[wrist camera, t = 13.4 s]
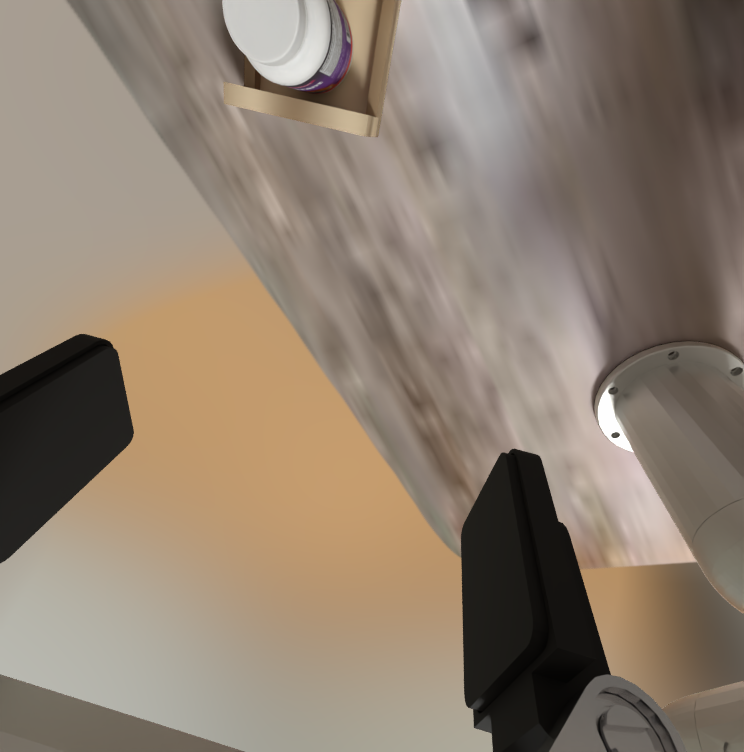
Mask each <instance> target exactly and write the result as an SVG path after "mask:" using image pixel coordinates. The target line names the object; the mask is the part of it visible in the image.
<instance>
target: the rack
mask: <svg viewBox="0 0 744 752" xmlns="http://www.w3.org/2000/svg"><path fill="white" fill-rule="evenodd" d="M335 1H336V2H337V4H338V5H339V6H340V8H341V9H342V10H343V12H344V14H345V15H346V17H347V19H348V22H349V24H350V28H351V31H352V36H353V58H352V63H351V66H350V69H349V71H348V74H347V75H346V77H345V79H344V80H343V82H342V83H341V84H340V85H339V86H338V87H337V88H335V89H334V90H332V91H330V92H328V93H324V94H311V93H307V92H303V91H300V90H296V89H293V88H289V87H286V86H282V85H279V84H276V83H273V82H271V81H270V80H268V79H266V78H265V77H263V76H262V75H261V74H260V73H259V72H258V71H257V70H256V69H255V68H254V67H253V66H252V64H251V63H250V61H249V60H248V58H247V57H246V55H245V54H244V86H239V85H235V84H230V83H226V82H224V104H228V105H232V106H236V107H241V108H245V109H249V110H254V111H258V112H262V113H267V114H271V115H275V116H279V117H284V118H288V119H292V120H297V121H301V122H305V123H310V124H314V125H318V126H322V127H327V128H331V129H335V130H340V131H344V132H348V133H353V134H357V135H361V136H366V137H378V134H379V128H380V122H381V116H382V110H383V104H384V99H385V93H386V87H387V81H388V75H389V69H390V63H391V57H392V52H393V46H394V40H395V34H396V28H397V22H398V16H399V10H400V4H401V0H335Z"/></svg>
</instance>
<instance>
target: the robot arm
mask: <svg viewBox="0 0 744 752" xmlns="http://www.w3.org/2000/svg"><path fill="white" fill-rule="evenodd" d="M594 411H595V417H596V420H597V423H598V425H599V427H600V429H601V430H602V432H603V434H604V435H605V436H606V437H607V438H608V439H609V440H610V441H611V442H613V443H614V444H615V445H617V446H619V447H621V448H623V449H625V450H627V451H631V452H634V454H635V456H636V457H637V459H638V461H639V463H640V464H641V466H642V468H643V469H644V471H645V473H646V475H647V476H648V478H649V480H650V482H651V483H652V485H653V487H654V488H655V490H656V492H657V494H658V495H659V497H660V499H661V501H662V502H663V504H664V506H665V508H666V509H667V511H668V513H669V514H670V516H671V518H672V520H673V521H674V523H675V525H676V527H677V528H678V530H679V532H680V533H681V535H682V537H683V539H684V540H685V542H686V544H687V546H688V547H689V549H690V551H691V552H692V554H693V556H694V558H695V559H696V561H697V562H698V564H699V566H700V568H701V569H702V571H703V573H704V574H705V576H706V577H707V579H708V580H709V582H710V583H711V584H712V586H713V587H714V588H715V589H716V590H717V592H718V593H719V594H720V595H721V596H722V597H723V598H724V599H725V600H726V601H728V602H729V603H730V604H731V605H732V606H733V607H735V608H736V609H737V610H739V611H740V612H742V613H743V614H744V363H743V362H742V361H741V360H740V359H739V358H738V357H736V356H735V355H734V354H732V353H731V352H729V351H727V350H725V349H723V348H721V347H719V346H716V345H712V344H708V343H704V342H692V341H685V342H673V343H668V344H663V345H659V346H655V347H653V348H650V349H647V350H644V351H642V352H640V353H638V354H636V355H634V356H632V357H630V358H629V359H627V360H626V361H624V362H623V363H622V364H620V365H619V366H617V367H616V368H615V369H614V370H613V371H612V372H611V373H610V374H609V375H608V376H607V378H606V379H605V380H604V382H603V383H602V385H601V386H600V388H599V390H598V393H597V395H596V399H595V404H594ZM133 434H134V431H133V426H132V420H131V416H130V411H129V406H128V401H127V396H126V391H125V386H124V381H123V376H122V371H121V366H120V361H119V356H118V353H117V351H116V350H115V349H114V348H113V345H112V344H111V343H110V342H109V341H107V340H105V339H101V338H97V337H94V336H90V335H86V334H79V335H76V336H74V337H72V338H70V339H69V340H66V341H64V342H63V343H61V344H59V345H57V346H55V347H53V348H51V349H49V350H47V351H45V352H43V353H41V354H40V355H38V356H36V357H34V358H32V359H30V360H28V361H26V362H24V363H22V364H20V365H18V366H16V367H15V368H13V369H11V370H9V371H7V372H5V373H3V374H1V375H0V563H2V562H3V561H5V560H6V559H8V558H9V557H10V556H11V555H12V554H13V553H15V552H16V551H17V550H18V549H19V548H20V547H21V546H22V545H23V544H24V543H25V542H26V541H27V540H28V539H29V538H30V537H31V536H32V535H34V534H35V532H37V531H38V530H39V529H40V528H41V527H42V526H43V525H44V524H45V523H46V522H47V521H48V520H49V519H51V518H52V517H53V516H54V515H55V514H56V513H57V512H58V511H59V510H60V509H61V508H62V507H63V506H64V505H65V504H66V503H68V501H70V500H71V499H72V498H73V497H74V496H75V495H76V494H77V493H78V492H79V491H80V490H81V489H82V488H83V487H84V486H86V485H87V484H88V483H89V482H90V481H91V480H92V479H93V478H94V477H95V476H96V475H97V474H98V473H99V472H100V471H101V470H103V469H104V468H105V467H106V466H107V465H108V464H109V463H110V462H111V461H112V460H113V459H114V458H115V457H116V456H117V455H118V454H119V453H120V452H122V451H123V450H124V449H125V448H126V447H127V446H128V444H129V443H130V442H131V440H132V438H133ZM461 557H462V600H463V601H462V604H463V648H464V650H463V651H464V694H465V702H466V705H467V707H468V708H471V709H473V715H474V728H476V729H480V730H483V731H486V732H490V733H492V743H493V752H744V681H742V682H738V683H734V684H730V685H726V686H722V687H718V688H715V689H711V690H707V691H703V692H700V693H696V694H692V695H689V696H686V697H683V698H681V699H678V700H676V701H674V702H672V703H670V704H668V705H667V706H666V707H664V708H663V709H661V708H660V707H659V706H658V704H656V702H655V701H654V700H653V699H652V698H651V697H650V696H649V695H647V694H646V693H645V692H644V691H643V690H641V689H640V688H639V687H638V686H636V685H635V684H633V683H631V682H629V681H627V680H625V679H623V678H621V677H617V676H612V675H611V674H610V671H609V667H608V664H607V660H606V657H605V654H604V650H603V647H602V644H601V640H600V637H599V633H598V630H597V626H596V623H595V620H594V617H593V613H592V610H591V606H590V603H589V599H588V596H587V593H586V589H585V586H584V582H583V579H582V576H581V573H580V569H579V566H578V562H577V559H576V555H575V552H574V549H573V545H572V542H571V538H570V535H569V533H568V530H567V528H566V527H565V525H564V524H563V523H561V522H558V518H557V515H556V511H555V507H554V504H553V500H552V496H551V493H550V489H549V486H548V482H547V478H546V475H545V471H544V468H543V464H542V460H541V458H540V456H538V455H536V454H532V453H528V452H525V451H521V450H517V449H512V450H511V451H510V452H509V453H508V454H507V453H501V454H500V456H499V458H498V460H497V461H496V463H495V465H494V467H493V469H492V471H491V473H490V475H489V477H488V479H487V481H486V482H485V484H484V486H483V488H482V490H481V492H480V494H479V496H478V498H477V500H476V502H475V503H474V505H473V507H472V509H471V511H470V513H469V515H468V517H467V519H466V521H465V523H464V525H463V528H462V534H461ZM0 752H244V751H241V750H238V749H235V748H231V747H228V746H225V745H222V744H219V743H216V742H212V741H209V740H206V739H203V738H200V737H197V736H194V735H191V734H188V733H184V732H181V731H178V730H175V729H172V728H169V727H166V726H162V725H159V724H156V723H153V722H150V721H147V720H143V719H140V718H137V717H134V716H131V715H128V714H124V713H121V712H118V711H115V710H112V709H109V708H105V707H102V706H99V705H96V704H93V703H90V702H86V701H83V700H80V699H77V698H74V697H70V696H67V695H64V694H61V693H57V692H55V691H51V690H48V689H45V688H42V687H39V686H35V685H32V684H29V683H26V682H22V681H19V680H16V679H13V678H10V677H7V676H4V675H0Z"/></svg>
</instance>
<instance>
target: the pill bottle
mask: <svg viewBox="0 0 744 752" xmlns="http://www.w3.org/2000/svg"><path fill="white" fill-rule="evenodd" d="M222 5H223V14H224V19H225V23H226V26H227V29H228V31H229V34H230V36H231V38H232V39H233V41H234V43H235V44H236V46H237V47H238V48H239V49H240V50H241V51H242V52H243V53H244V54H245V55H246V57H247V58H248V60H249V61H250V63H251V64H252V66H253V67H254V68H255V69H256V70H257V71H258V72H259V73H260V74H261V75H262V76H263V77H265V78H266V79H268V80H270V81H271V82H273V83H276V84H279V85H282V86H286V87H289V88H293V89H296V90H300V91H303V92H307V93H311V94H324V93H328V92H330V91H332V90H334V89H335V88H337V87H338V86H339V85H340V84H341V83H342V82H343V80H344V79H345V77H346V75H347V74H348V71H349V69H350V66H351V63H352V58H353V36H352V31H351V28H350V24H349V22H348V19H347V17H346V15H345V14H344V12H343V10H342V9H341V8H340V6H339V5H338V4H337V2H336V1H335V0H222Z"/></svg>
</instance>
